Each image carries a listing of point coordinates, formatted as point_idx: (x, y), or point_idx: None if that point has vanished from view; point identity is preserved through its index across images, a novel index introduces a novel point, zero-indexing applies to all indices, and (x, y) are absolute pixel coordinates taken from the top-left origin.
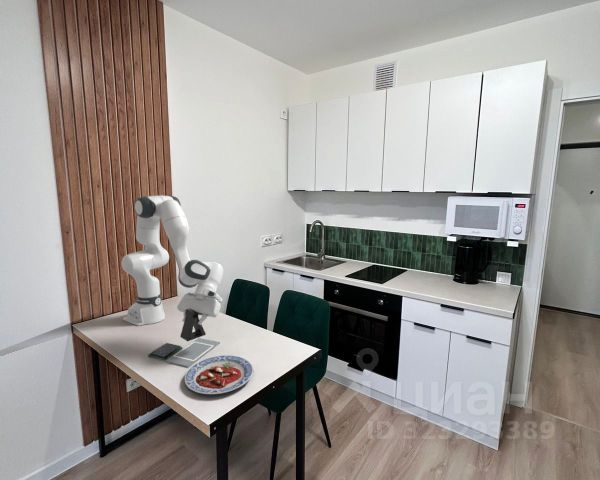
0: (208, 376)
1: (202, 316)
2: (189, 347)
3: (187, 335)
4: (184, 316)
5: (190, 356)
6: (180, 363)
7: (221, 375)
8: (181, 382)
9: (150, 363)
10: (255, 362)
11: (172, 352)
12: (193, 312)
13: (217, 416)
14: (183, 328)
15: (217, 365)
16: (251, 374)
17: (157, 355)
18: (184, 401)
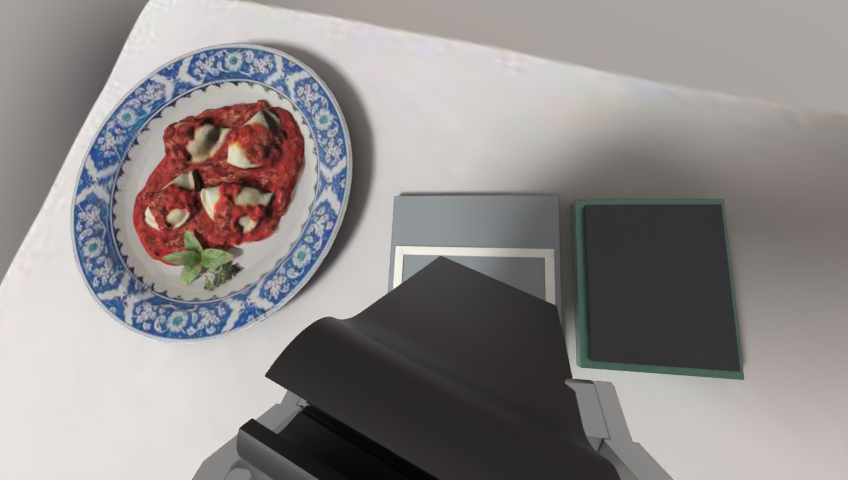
0: (231, 133)
1: (234, 462)
2: None
3: (443, 269)
4: (629, 454)
5: None
6: (451, 201)
7: (194, 175)
8: (353, 96)
9: (629, 155)
10: (110, 353)
11: (585, 278)
12: (279, 367)
13: (145, 17)
14: (540, 327)
15: (263, 258)
16: (71, 218)
17: (644, 205)
18: (275, 21)
